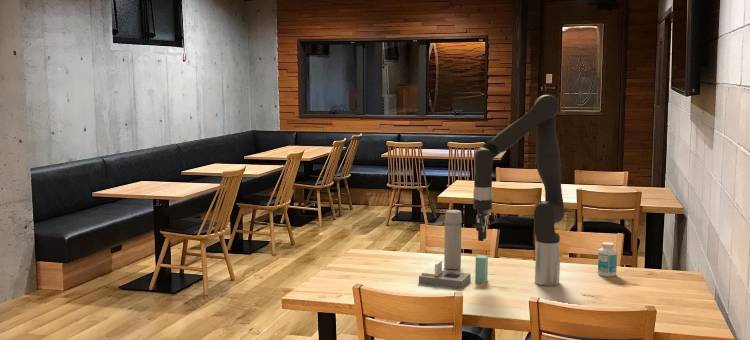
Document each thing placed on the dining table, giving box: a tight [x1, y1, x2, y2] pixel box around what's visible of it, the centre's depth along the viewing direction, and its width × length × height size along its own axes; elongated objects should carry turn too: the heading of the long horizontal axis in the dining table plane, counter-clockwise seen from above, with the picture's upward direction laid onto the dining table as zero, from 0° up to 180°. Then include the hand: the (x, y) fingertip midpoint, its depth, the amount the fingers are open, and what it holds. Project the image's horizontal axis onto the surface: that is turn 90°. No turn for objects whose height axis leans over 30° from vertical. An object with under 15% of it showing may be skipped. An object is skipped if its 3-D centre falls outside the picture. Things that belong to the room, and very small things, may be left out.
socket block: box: [418, 270, 471, 290], centre depth 300 cm, size 18×12×3 cm, turn 67°
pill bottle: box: [597, 241, 618, 278], centre depth 310 cm, size 8×7×14 cm
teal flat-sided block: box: [474, 254, 489, 283], centre depth 302 cm, size 4×4×10 cm
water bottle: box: [443, 209, 463, 271], centre depth 321 cm, size 9×8×25 cm
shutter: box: [421, 260, 443, 276], centre depth 302 cm, size 6×7×5 cm
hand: (482, 239), depth 300 cm, fingers open, 3 cm apart
